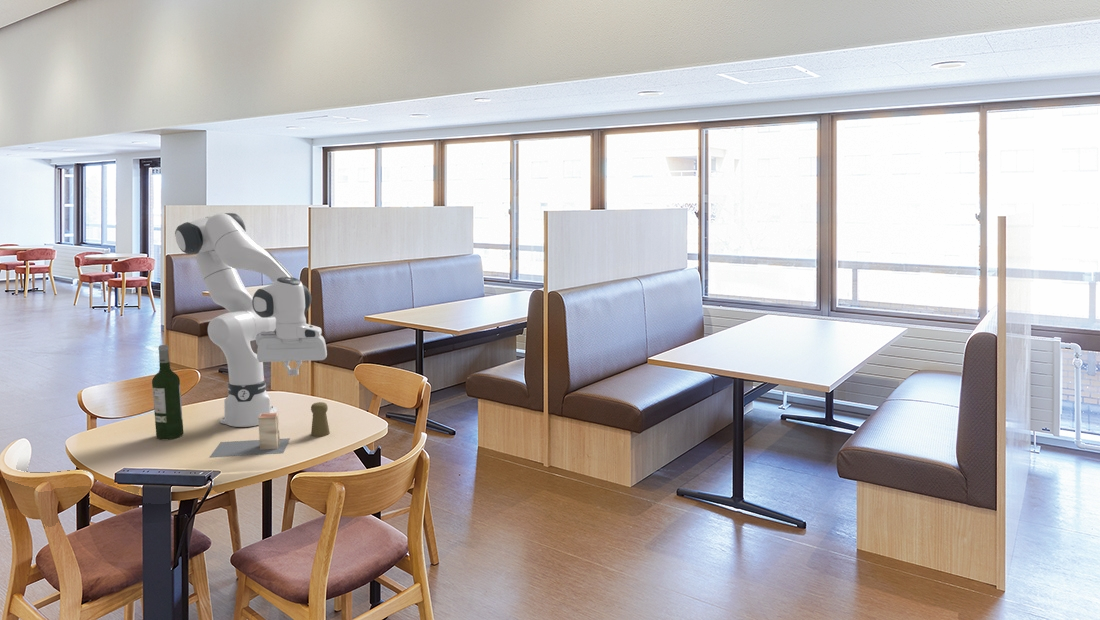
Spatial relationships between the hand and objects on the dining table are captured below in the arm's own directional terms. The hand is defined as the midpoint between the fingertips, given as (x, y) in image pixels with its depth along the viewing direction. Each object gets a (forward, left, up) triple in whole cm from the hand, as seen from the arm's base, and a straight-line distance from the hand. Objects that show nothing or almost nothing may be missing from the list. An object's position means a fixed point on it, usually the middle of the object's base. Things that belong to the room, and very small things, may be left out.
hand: (293, 374), depth 228 cm
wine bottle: (-18, -42, -23) cm, 51 cm away
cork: (-10, +6, -23) cm, 26 cm away
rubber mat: (0, -13, -23) cm, 27 cm away
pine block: (0, -8, -22) cm, 24 cm away
